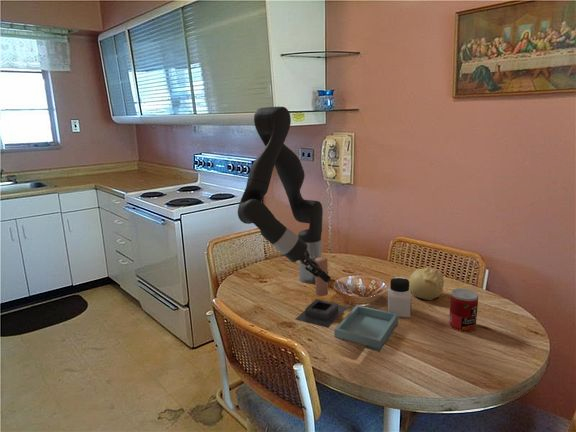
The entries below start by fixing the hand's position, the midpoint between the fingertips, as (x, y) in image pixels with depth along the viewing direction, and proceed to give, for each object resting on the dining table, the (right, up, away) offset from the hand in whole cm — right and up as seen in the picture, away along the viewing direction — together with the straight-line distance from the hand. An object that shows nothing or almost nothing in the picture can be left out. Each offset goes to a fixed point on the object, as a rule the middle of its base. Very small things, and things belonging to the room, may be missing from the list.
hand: (327, 277), depth 135 cm
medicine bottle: (+25, -13, +4) cm, 28 cm away
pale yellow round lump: (+37, -9, +15) cm, 42 cm away
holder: (-2, -13, +3) cm, 14 cm away
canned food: (+42, -15, -6) cm, 45 cm away
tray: (+12, -16, -8) cm, 21 cm away
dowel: (-2, -6, +1) cm, 6 cm away
